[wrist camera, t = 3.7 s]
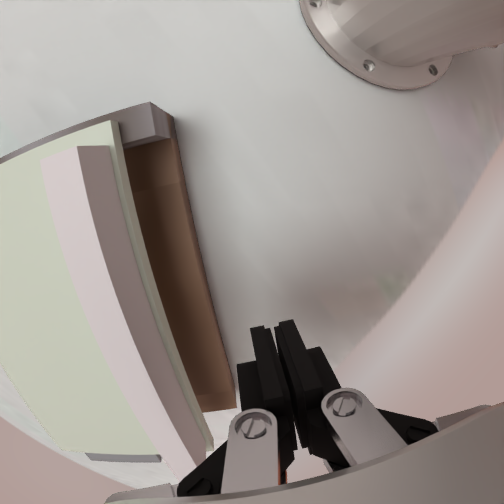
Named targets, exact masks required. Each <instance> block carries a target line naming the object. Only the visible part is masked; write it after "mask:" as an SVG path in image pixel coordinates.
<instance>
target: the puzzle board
mask: <svg viewBox="0 0 504 504" xmlns="http://www.w3.org/2000/svg"><path fill="white" fill-rule="evenodd" d="M109 120H113V121H117V122H118V125H119V131H120V136H121V142H122V147H123V153H124V158H125V163H126V168H127V173H128V177H129V182H130V187H131V191H132V196H133V200H134V204H135V208H136V213H137V217H138V221H139V225H140V229H141V233H142V236H143V240H144V244H145V248H146V251H147V255H148V259H149V262H150V266H151V269H152V273H153V276H154V279H155V283H156V286H157V289H158V293H159V296H160V299H161V302H162V305H163V308H164V312H165V315H166V318H167V321H168V324H169V327H170V330H171V332H172V335H173V338H174V341H175V344H176V347H177V350H178V352H179V355H180V358H181V361H182V363H183V366H184V369H185V371H186V374H187V377H188V379H189V382H190V384H191V387H192V389H193V392H194V394H195V397H196V399H197V402H198V404H199V407H200V409H201V411H202V413H203V412H211V411H219V410H226V409H233V408H237V405H236V393H235V385H234V382H233V378H232V375H231V371H230V368H229V364H228V360H227V357H226V353H225V349H224V346H223V342H222V338H221V335H220V331H219V327H218V323H217V319H216V315H215V311H214V307H213V303H212V299H211V295H210V291H209V287H208V283H207V279H206V275H205V271H204V266H203V262H202V258H201V254H200V249H199V245H198V240H197V236H196V231H195V227H194V222H193V218H192V213H191V208H190V204H189V199H188V194H187V189H186V184H185V179H184V174H183V169H182V164H181V159H180V154H179V148H178V143H177V138H176V132H175V126H174V121H173V116H171V115H170V114H168V113H167V112H165V111H163V110H162V109H160V108H159V107H157V106H156V105H154V104H153V103H151V102H147V103H143V104H140V105H136V106H132V107H129V108H126V109H122V110H119V111H116V112H113V113H109V114H106V115H103V116H100V117H97V118H94V119H91V120H89V121H86V122H83V123H80V124H77V125H75V126H72V127H69V128H67V129H64V130H62V131H59V132H57V133H54V134H52V135H49V136H47V137H45V138H42V139H40V140H38V141H35V142H33V143H31V144H29V145H26V146H24V147H22V148H20V149H18V150H16V151H14V152H12V153H10V154H8V155H6V156H4V157H2V158H0V164H2V163H4V162H6V161H8V160H10V159H12V158H14V157H16V156H18V155H20V154H23V153H25V152H27V151H29V150H32V149H34V148H36V147H38V146H41V145H43V144H46V143H48V142H50V141H53V140H55V139H58V138H60V137H63V136H66V135H68V134H71V133H74V132H76V131H79V130H82V129H85V128H88V127H90V126H93V125H96V124H99V123H102V122H105V121H109Z"/></svg>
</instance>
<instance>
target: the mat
mask: <svg viewBox="0 0 504 504" xmlns="http://www.w3.org/2000/svg"><path fill="white" fill-rule="evenodd" d="M85 454H86V455H87V456H88V457H89V458H90V460H94V461H109V462H161V458H162V457H161V455H160V454H155V455H122V454H98V453H85Z"/></svg>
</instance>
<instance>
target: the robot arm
mask: <svg viewBox="0 0 504 504" xmlns="http://www.w3.org/2000/svg"><path fill="white" fill-rule="evenodd" d="M299 2H300V7H301V12H302V14H303V16H304V19H305V21H306V23H307V26H308V27H309V29H310V30H311V32H312V34H313V35H314V37H315V38H316V40H317V41H318V42H319V43H320V44H321V46H322V47H323V48H324V49H325V50H326V51H327V53H328V54H329V55H331V56H332V57H333V58H334V59H335V60H336V61H337V62H338V63H340V64H341V65H342V66H343V67H345V68H346V69H348V70H349V71H351V72H352V73H354V74H355V75H356V76H358V77H361V78H363V79H365V80H367V81H369V82H371V83H373V84H376V85H379V86H383V87H386V88H392V89H399V90H404V89H415V88H419V87H423V86H427V85H429V84H431V83H433V82H435V81H437V80H438V79H439V78H440V77H441V76H443V75H444V74H445V72H446V70H447V69H448V67H449V66H450V63H451V60H452V57H453V55H456V54H460V53H463V52H467V51H471V50H475V49H479V48H484V47H491V48H496V47H497V46H498V45H499V44H502V43H504V0H299ZM312 5H313V6H314V7H313V6H312ZM363 65H364V66H365V67H366V69H365V68H364V66H363ZM274 330H275V337H276V343H277V349H278V353H277V349H276V346H275V343H274V340H273V336H272V333H271V330H270V328H267V329H265V328H264V325H263V326H258V327H253V328H250V331H251V336H252V341H253V347H254V352H255V357H256V361H251V362H246V363H241V364H237V374H238V383H239V392H240V401H241V409H242V412H241V413H239V414H238V415H236V416H235V417H234V418H233V420H232V421H231V424H230V426H229V434H228V440H227V441H226V442H225V443H223V444H222V445H221V446H220V447H219V448H218V449H217V450H216V451H215V452H213V453H212V454H211V455H210V456H209V457H208V458H207V459H206V460H204V461H203V462H202V463H201V464H200V465H199V466H197V467H196V468H195V469H194V470H193V471H192V472H190V473H189V474H188V475H187V476H186V477H184V478H183V479H182V480H181V482H180V483H179V484H176V485H171V484H170V483H168V484H163V485H158V486H153V487H148V488H143V489H137V490H131V491H125V492H118V493H115V494H112V495H111V496H110V497H108V499H107V500H106V502H105V503H104V504H504V402H502V403H499V404H496V405H493V406H490V405H480V406H477V407H474V408H471V409H467V410H464V411H461V412H457V413H454V414H451V415H447V416H443V417H439V418H436V420H435V421H434V422H430V421H427V420H425V419H420V418H415V417H411V416H407V415H402V414H397V413H394V412H389V411H385V410H381V409H377V408H375V407H374V405H373V404H372V403H371V402H370V401H369V400H368V399H367V397H366V396H365V395H364V394H363V393H362V392H360V391H358V390H356V389H352V388H341V386H340V384H339V382H338V380H337V378H336V376H335V374H334V372H333V370H332V368H331V366H330V365H329V363H328V361H327V359H326V357H325V355H324V353H323V351H322V349H321V348H320V347H315V348H311V349H307V350H306V347H305V345H304V343H303V341H302V339H301V336H300V334H299V332H298V330H297V327H296V325H295V323H294V321H293V319H292V320H287V321H282V322H279V326H277V327H274ZM278 355H279V356H278ZM294 423H295V425H294ZM295 426H296V429H297V433H298V436H299V440H300V443H301V446H302V448H306V447H308V450H309V453H310V455H311V454H313V455H315V456H318V457H320V458H323V461H324V465H325V466H326V468H327V470H328V471H329V474H325V475H321V476H317V477H314V478H310V479H305V480H301V481H297V482H293V483H288V484H287V471H286V469H287V468H288V466H289V465H290V464H291V463H292V462H293V460H294V452H293V451H294V450H297V440H296V433H295Z"/></svg>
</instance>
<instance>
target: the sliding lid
mask: <svg viewBox="0 0 504 504" xmlns="http://www.w3.org/2000/svg"><path fill="white" fill-rule="evenodd" d="M0 364H1V366H2V367H3V369H4V371H5V372H6V374H7V376H8V377H9V379H10V381H11V382H12V384H13V385H14V387H15V389H16V390H17V392H18V393H19V395H20V396H21V398H22V399H23V401H24V402H25V404H26V405H27V406H28V408H29V409H30V411H31V412H32V413H33V415H34V416H35V418H36V419H37V420H38V422H39V423H40V424H41V426H42V427H43V428H44V429H45V431H46V432H47V433H48V435H49V436H50V437H51V438H52V440H53V441H54V442H55V443H56V444H57V446H58V447H59V448H60V449H61V450H64V451H73V452H84V453H98V454H122V455H155V454H160V455H161V457H162V458H163V460H164V461H165V462H166V464H167V465H168V467H169V468H170V470H171V471H172V472H173V474H174V475H175V476H176V478H177V479H178V480H179V482H181V480H182V479H183V478H184V477H186V476H187V475H188V474H189V473H190V472H192V471H193V470H194V469H195V468H196V467H197V466H199V465H200V464H201V463H202V462H203V461H204V460H206V451H214V439H213V437H212V435H211V432H210V430H209V428H208V425H207V423H206V421H205V419H204V416H203V414H202V411H201V409H200V407H199V404H198V402H197V399H196V397H195V394H194V392H193V389H192V387H191V384H190V382H189V379H188V377H187V374H186V371H185V369H184V366H183V363H182V361H181V358H180V355H179V352H178V350H177V347H176V344H175V341H174V338H173V335H172V332H171V330H170V327H169V324H168V321H167V318H166V315H165V312H164V308H163V305H162V302H161V299H160V296H159V293H158V289H157V286H156V283H155V279H154V276H153V273H152V269H151V266H150V262H149V259H148V255H147V251H146V248H145V244H144V240H143V236H142V233H141V229H140V225H139V221H138V217H137V213H136V208H135V204H134V200H133V196H132V191H131V187H130V182H129V177H128V173H127V168H126V163H125V158H124V153H123V147H122V142H121V136H120V131H119V125H118V122H117V121H113V120H109V121H105V122H102V123H99V124H96V125H93V126H90V127H88V128H85V129H82V130H79V131H76V132H74V133H71V134H68V135H66V136H63V137H60V138H58V139H55V140H53V141H50V142H48V143H46V144H43V145H41V146H38V147H36V148H34V149H32V150H29V151H27V152H25V153H23V154H20V155H18V156H16V157H14V158H12V159H10V160H8V161H6V162H4V163H2V164H0Z"/></svg>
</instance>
